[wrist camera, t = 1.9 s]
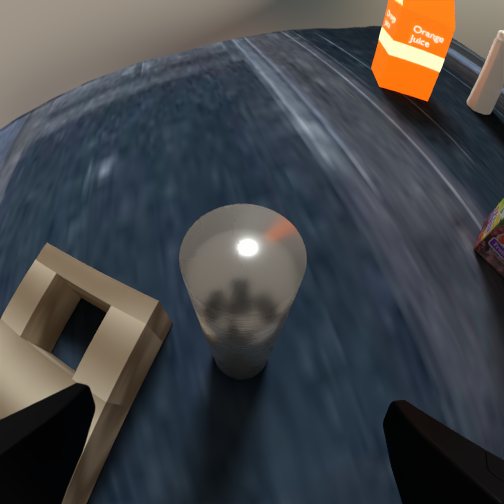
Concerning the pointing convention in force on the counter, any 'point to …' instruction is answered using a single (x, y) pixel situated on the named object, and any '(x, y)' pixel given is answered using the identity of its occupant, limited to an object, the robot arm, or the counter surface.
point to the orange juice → (413, 45)
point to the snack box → (493, 239)
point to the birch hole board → (94, 360)
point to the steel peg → (242, 282)
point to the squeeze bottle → (489, 79)
